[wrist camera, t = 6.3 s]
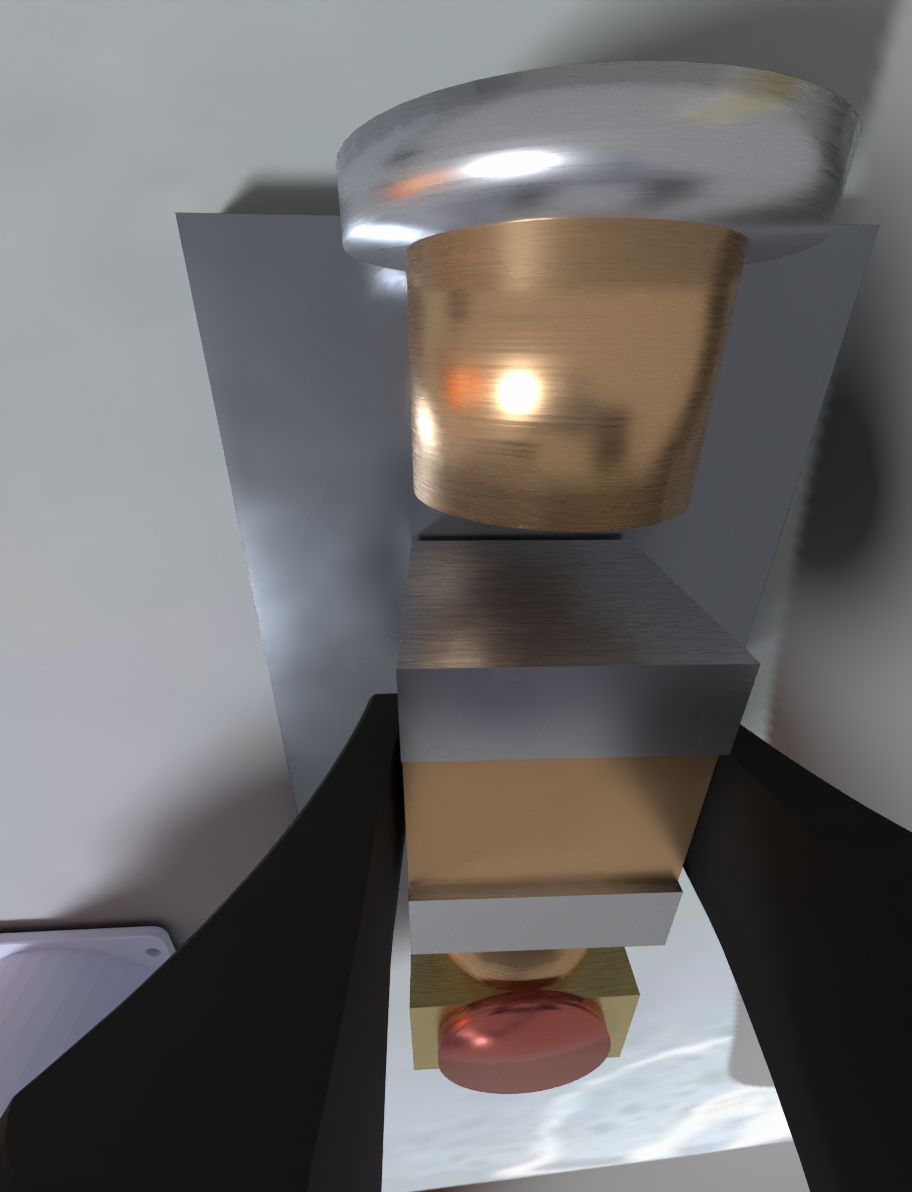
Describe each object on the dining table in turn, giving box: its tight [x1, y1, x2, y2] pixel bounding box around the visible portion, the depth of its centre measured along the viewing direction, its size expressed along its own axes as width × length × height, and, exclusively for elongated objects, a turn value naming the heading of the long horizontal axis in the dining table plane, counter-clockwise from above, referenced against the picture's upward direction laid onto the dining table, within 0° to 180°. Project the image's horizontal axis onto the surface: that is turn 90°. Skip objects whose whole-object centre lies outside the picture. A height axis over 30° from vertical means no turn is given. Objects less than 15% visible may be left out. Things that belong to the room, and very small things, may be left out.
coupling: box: [396, 540, 760, 955], centre depth 10 cm, size 6×5×5 cm
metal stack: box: [175, 61, 879, 1094], centre depth 11 cm, size 18×12×6 cm, turn 0°
